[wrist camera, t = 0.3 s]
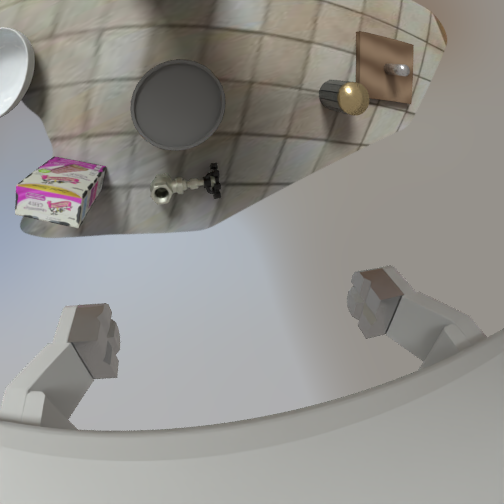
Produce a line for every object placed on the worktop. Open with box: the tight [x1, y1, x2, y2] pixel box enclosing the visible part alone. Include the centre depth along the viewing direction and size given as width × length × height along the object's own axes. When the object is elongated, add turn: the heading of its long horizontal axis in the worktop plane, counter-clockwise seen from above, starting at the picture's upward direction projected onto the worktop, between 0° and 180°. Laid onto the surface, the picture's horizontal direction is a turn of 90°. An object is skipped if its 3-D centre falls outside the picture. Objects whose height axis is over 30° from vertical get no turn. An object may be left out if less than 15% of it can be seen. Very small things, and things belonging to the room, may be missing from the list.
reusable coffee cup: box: [131, 59, 225, 150], centre depth 40 cm, size 13×12×15 cm
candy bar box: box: [15, 157, 106, 228], centre depth 41 cm, size 11×5×16 cm, turn 70°
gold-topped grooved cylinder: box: [319, 80, 369, 115], centre depth 49 cm, size 6×6×8 cm
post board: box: [356, 31, 413, 104], centre depth 50 cm, size 14×14×2 cm
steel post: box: [384, 63, 410, 76], centre depth 47 cm, size 2×2×6 cm
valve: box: [150, 163, 221, 205], centre depth 52 cm, size 7×7×12 cm
